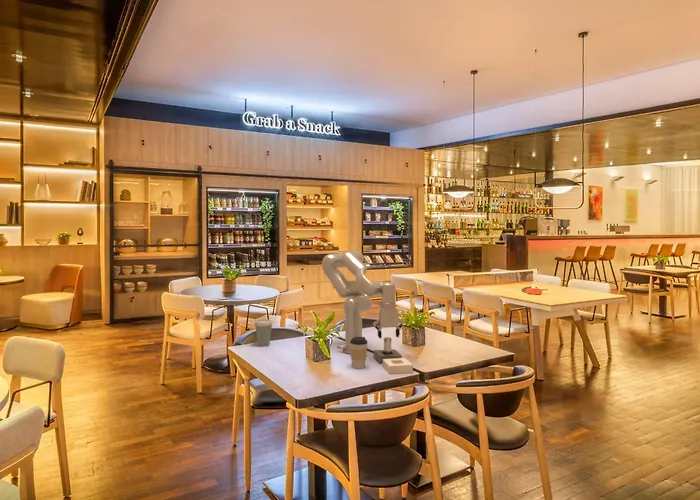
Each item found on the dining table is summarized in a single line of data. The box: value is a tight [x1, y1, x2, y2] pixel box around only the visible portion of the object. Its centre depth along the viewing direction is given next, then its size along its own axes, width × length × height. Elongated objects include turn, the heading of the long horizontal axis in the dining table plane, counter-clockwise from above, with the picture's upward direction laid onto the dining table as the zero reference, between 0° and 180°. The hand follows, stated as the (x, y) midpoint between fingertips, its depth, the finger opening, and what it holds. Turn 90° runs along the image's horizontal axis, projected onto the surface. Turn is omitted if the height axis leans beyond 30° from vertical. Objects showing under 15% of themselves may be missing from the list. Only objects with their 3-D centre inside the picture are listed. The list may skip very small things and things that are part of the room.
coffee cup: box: [350, 336, 368, 370], centre depth 251 cm, size 9×9×15 cm
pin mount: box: [373, 348, 403, 365], centre depth 263 cm, size 12×12×4 cm
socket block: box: [381, 357, 414, 375], centre depth 246 cm, size 12×12×4 cm
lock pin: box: [383, 336, 392, 354], centre depth 263 cm, size 4×4×12 cm
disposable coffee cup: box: [254, 318, 273, 347], centre depth 290 cm, size 11×11×15 cm
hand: (388, 337), depth 262 cm, fingers open, 9 cm apart
